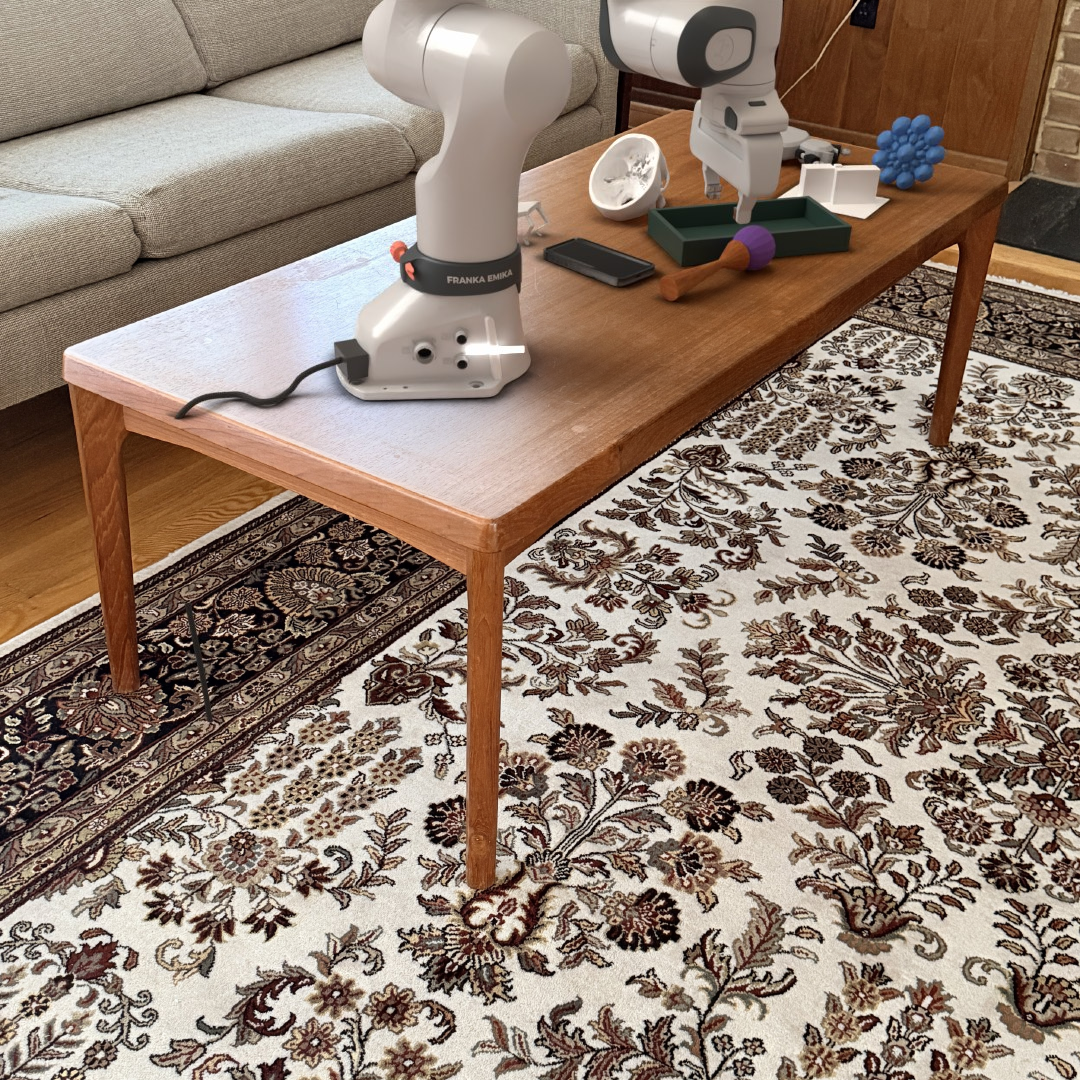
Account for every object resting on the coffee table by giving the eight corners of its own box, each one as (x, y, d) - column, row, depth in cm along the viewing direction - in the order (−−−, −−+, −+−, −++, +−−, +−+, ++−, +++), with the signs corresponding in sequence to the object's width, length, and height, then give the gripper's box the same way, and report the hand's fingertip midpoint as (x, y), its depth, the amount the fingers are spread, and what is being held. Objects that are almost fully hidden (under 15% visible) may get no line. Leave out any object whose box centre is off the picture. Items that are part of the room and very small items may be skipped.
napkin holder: (890, 198, 194) (896, 162, 191) (865, 219, 186) (872, 181, 183) (801, 181, 201) (806, 146, 198) (774, 200, 193) (778, 164, 190)
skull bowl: (692, 192, 191) (677, 134, 180) (650, 261, 187) (632, 206, 176) (634, 178, 195) (616, 122, 185) (592, 245, 192) (571, 191, 181)
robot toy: (851, 168, 210) (776, 144, 217) (857, 141, 207) (781, 118, 214) (816, 185, 202) (739, 159, 209) (822, 158, 199) (744, 133, 206)
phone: (578, 236, 175) (658, 265, 166) (577, 244, 175) (658, 272, 166) (539, 249, 170) (619, 280, 161) (538, 257, 170) (619, 288, 162)
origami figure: (504, 224, 182) (504, 191, 179) (552, 235, 178) (552, 202, 175) (457, 248, 173) (456, 214, 171) (507, 261, 170) (507, 226, 167)
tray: (681, 266, 169) (683, 241, 167) (647, 232, 180) (648, 208, 178) (848, 250, 175) (852, 226, 173) (805, 219, 186) (809, 195, 184)
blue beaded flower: (946, 189, 199) (962, 114, 192) (930, 200, 194) (946, 123, 187) (878, 175, 204) (891, 101, 198) (862, 185, 200) (874, 110, 193)
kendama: (649, 263, 159) (748, 218, 169) (654, 307, 162) (751, 260, 172) (683, 268, 155) (782, 221, 165) (688, 313, 157) (785, 264, 168)
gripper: (682, 81, 159) (674, 186, 167) (746, 125, 143) (735, 239, 151) (727, 78, 161) (717, 182, 168) (795, 121, 144) (782, 234, 152)
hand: (726, 209), depth 159 cm, fingers open, 8 cm apart
